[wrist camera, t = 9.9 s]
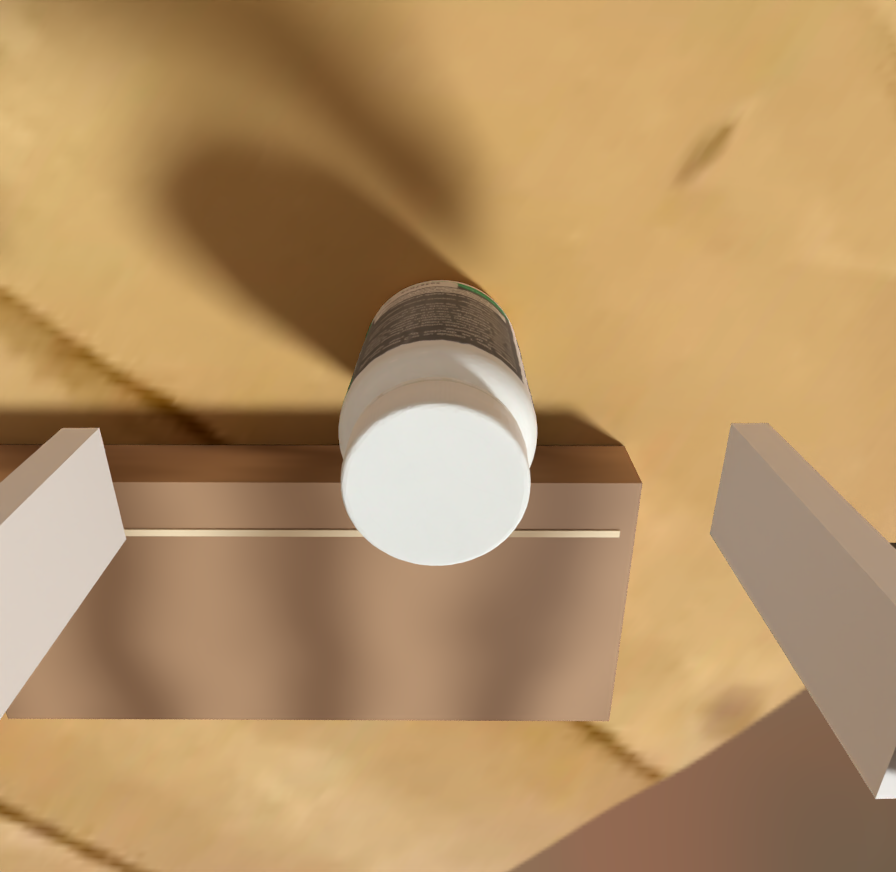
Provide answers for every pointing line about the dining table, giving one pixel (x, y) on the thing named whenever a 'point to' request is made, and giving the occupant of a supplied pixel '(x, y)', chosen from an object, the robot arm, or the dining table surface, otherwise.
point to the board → (338, 598)
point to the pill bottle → (437, 427)
